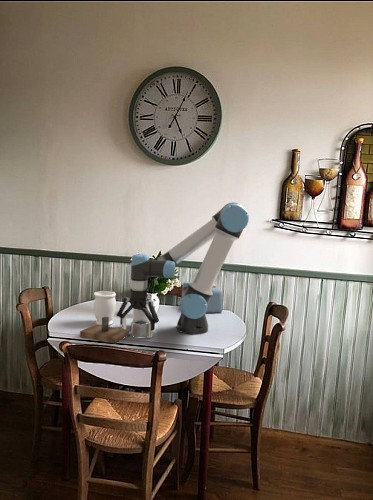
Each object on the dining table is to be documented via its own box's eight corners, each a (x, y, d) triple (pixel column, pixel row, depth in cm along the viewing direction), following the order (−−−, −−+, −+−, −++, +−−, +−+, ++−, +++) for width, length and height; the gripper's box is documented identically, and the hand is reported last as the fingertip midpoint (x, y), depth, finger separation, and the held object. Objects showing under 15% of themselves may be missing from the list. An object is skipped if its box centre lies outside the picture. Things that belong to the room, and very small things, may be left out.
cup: (130, 329, 219) (130, 308, 217) (137, 321, 230) (138, 302, 229) (147, 330, 217) (147, 310, 216) (153, 323, 229) (154, 303, 227)
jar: (110, 327, 219) (111, 296, 217) (90, 325, 221) (90, 294, 219) (118, 321, 230) (119, 291, 227) (98, 318, 232) (99, 289, 229)
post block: (129, 335, 209) (129, 317, 208) (115, 343, 198) (116, 324, 197) (94, 329, 216) (95, 311, 215) (80, 336, 205) (80, 318, 203)
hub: (152, 334, 213) (152, 321, 212) (143, 339, 206) (144, 326, 205) (137, 331, 216) (137, 318, 215) (128, 336, 209) (128, 323, 208)
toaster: (187, 306, 264) (188, 278, 262) (214, 305, 268) (215, 278, 266) (195, 314, 248) (196, 285, 246) (223, 313, 253) (225, 285, 250)
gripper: (167, 291, 206) (165, 336, 209) (118, 283, 215) (116, 327, 218) (160, 294, 199) (158, 341, 202) (110, 286, 208) (108, 332, 211)
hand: (136, 334), depth 210 cm, fingers open, 13 cm apart
